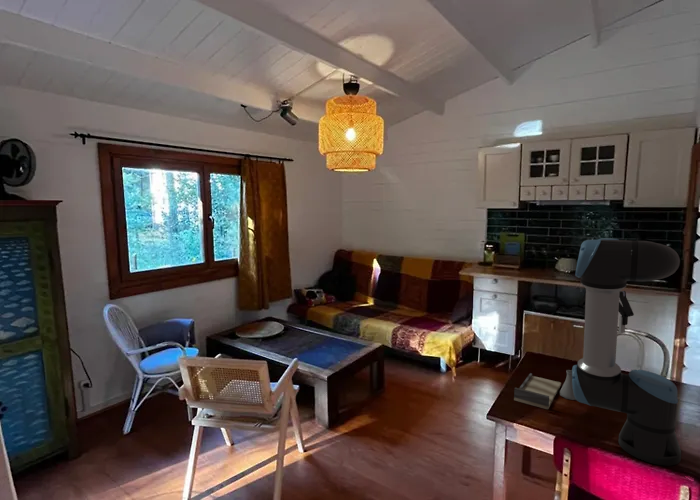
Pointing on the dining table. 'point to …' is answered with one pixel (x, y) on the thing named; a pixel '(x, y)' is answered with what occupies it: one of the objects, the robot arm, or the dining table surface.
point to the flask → (568, 387)
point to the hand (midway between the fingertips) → (604, 328)
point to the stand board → (537, 391)
